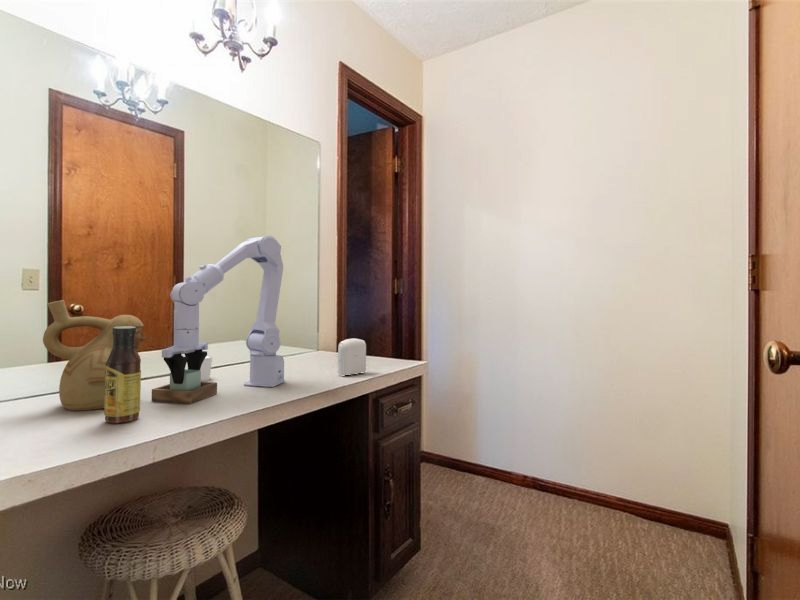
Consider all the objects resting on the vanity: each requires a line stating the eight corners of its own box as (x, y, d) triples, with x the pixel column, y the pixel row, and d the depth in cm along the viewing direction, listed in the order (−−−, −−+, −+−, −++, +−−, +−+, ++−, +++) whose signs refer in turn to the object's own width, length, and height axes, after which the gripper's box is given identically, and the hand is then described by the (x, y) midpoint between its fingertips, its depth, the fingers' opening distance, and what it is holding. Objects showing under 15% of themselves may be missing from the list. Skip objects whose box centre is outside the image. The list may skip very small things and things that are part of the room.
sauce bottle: (101, 419, 84) (102, 326, 84) (136, 413, 88) (137, 324, 88) (107, 427, 79) (108, 328, 79) (143, 420, 84) (144, 327, 83)
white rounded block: (205, 382, 119) (205, 359, 119) (182, 381, 120) (182, 358, 119) (216, 377, 126) (216, 355, 126) (194, 377, 126) (195, 355, 126)
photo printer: (342, 377, 130) (343, 340, 130) (335, 375, 133) (336, 338, 133) (367, 373, 137) (368, 338, 137) (360, 371, 140) (360, 337, 140)
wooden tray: (217, 393, 107) (217, 382, 107) (189, 404, 96) (190, 392, 96) (181, 391, 109) (182, 380, 109) (151, 401, 98) (151, 389, 98)
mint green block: (184, 385, 105) (184, 369, 105) (200, 387, 104) (200, 370, 104) (169, 390, 101) (169, 372, 100) (186, 392, 100) (187, 374, 99)
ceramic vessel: (151, 404, 95) (152, 301, 95) (41, 420, 82) (42, 300, 82) (139, 390, 108) (140, 299, 108) (43, 402, 95) (43, 298, 95)
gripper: (180, 331, 94) (179, 388, 95) (218, 327, 109) (217, 376, 109) (154, 330, 96) (153, 386, 96) (195, 326, 110) (194, 374, 110)
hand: (185, 381), depth 102 cm, fingers closed on mint green block, 5 cm apart
